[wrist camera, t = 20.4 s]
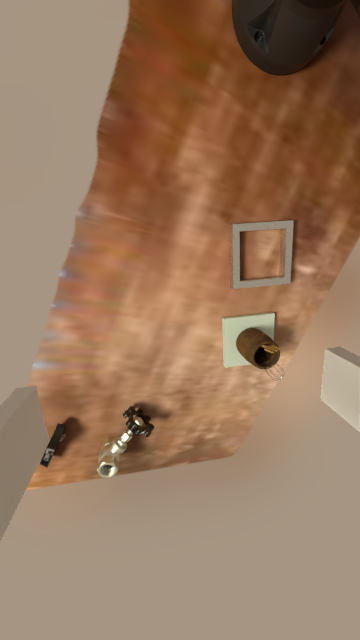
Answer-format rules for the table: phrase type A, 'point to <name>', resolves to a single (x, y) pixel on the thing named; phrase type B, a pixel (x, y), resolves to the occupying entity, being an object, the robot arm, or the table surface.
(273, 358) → the utensil holder
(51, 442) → the lighter
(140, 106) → the table surface
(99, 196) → the table surface
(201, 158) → the table surface
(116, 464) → the valve
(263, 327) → the green tile
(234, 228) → the grey square frame
